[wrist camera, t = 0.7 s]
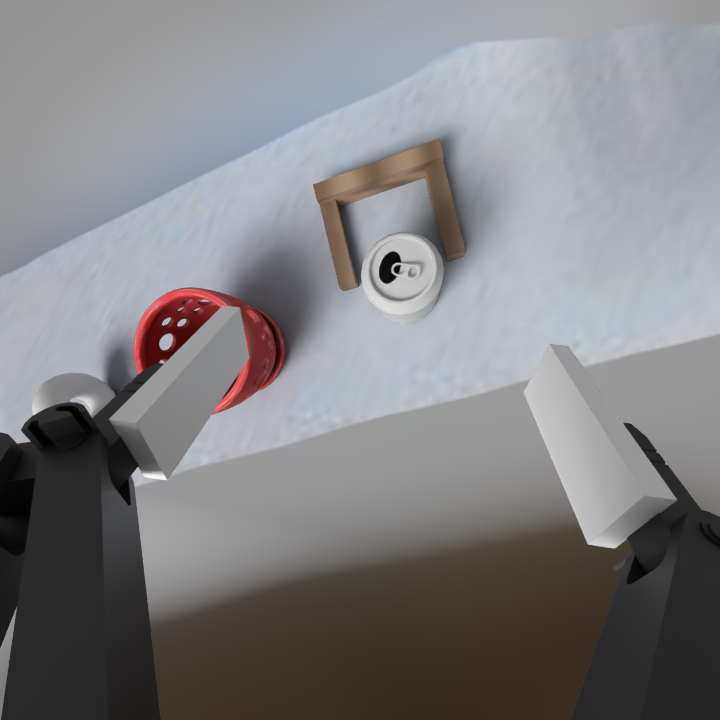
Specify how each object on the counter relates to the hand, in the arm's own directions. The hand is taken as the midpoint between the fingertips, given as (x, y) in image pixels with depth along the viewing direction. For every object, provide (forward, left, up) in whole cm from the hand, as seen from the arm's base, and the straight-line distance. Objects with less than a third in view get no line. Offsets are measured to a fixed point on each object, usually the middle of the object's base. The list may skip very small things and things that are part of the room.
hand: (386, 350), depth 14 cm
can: (-1, -7, -26) cm, 27 cm away
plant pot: (+21, -5, -26) cm, 33 cm away
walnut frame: (-2, -16, -25) cm, 30 cm away
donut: (+44, -3, -26) cm, 51 cm away
